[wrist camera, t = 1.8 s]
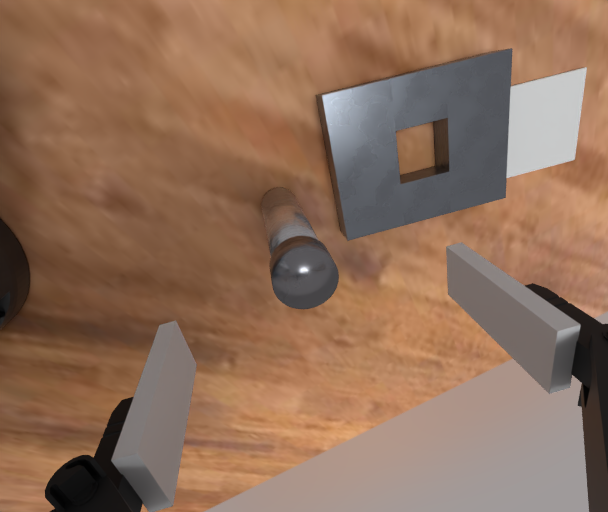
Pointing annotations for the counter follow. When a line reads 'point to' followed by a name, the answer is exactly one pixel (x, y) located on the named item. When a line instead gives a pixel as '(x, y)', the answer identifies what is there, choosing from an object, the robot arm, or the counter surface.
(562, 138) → the pad
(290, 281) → the key peg
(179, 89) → the counter surface
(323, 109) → the plate
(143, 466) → the robot arm
